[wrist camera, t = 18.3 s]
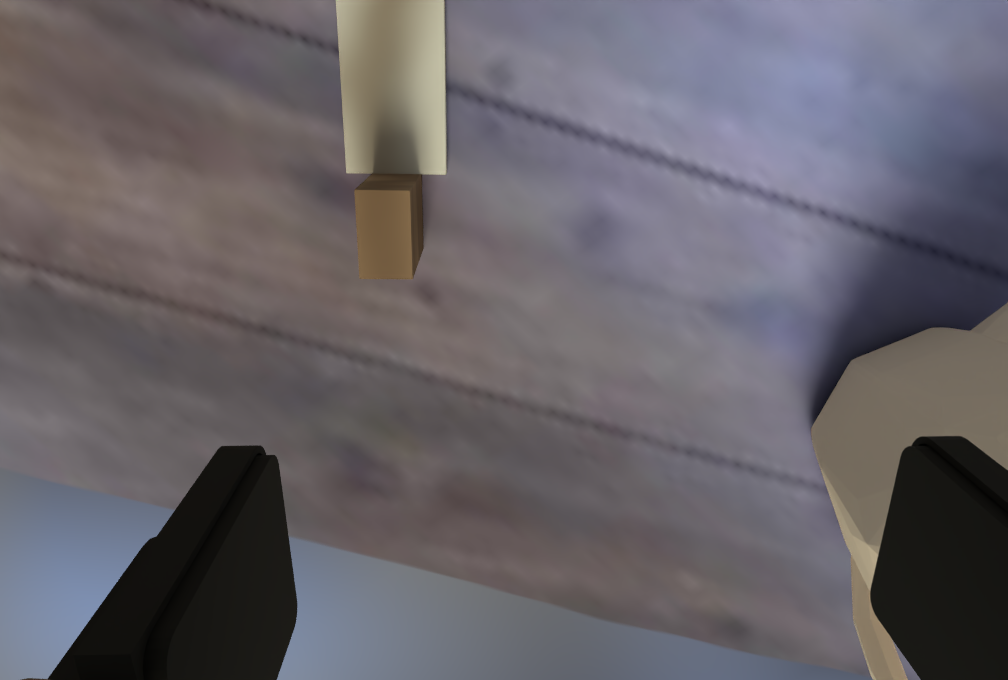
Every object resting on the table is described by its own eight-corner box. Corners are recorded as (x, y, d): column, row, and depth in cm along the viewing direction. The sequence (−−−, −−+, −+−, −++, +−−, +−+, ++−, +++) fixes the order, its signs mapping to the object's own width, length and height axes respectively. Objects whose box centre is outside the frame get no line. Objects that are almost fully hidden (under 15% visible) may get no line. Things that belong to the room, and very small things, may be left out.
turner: (443, -97, 32) (435, -132, 27) (447, 248, 38) (441, 279, 32) (333, -100, 32) (300, -135, 26) (353, 247, 38) (330, 278, 32)
